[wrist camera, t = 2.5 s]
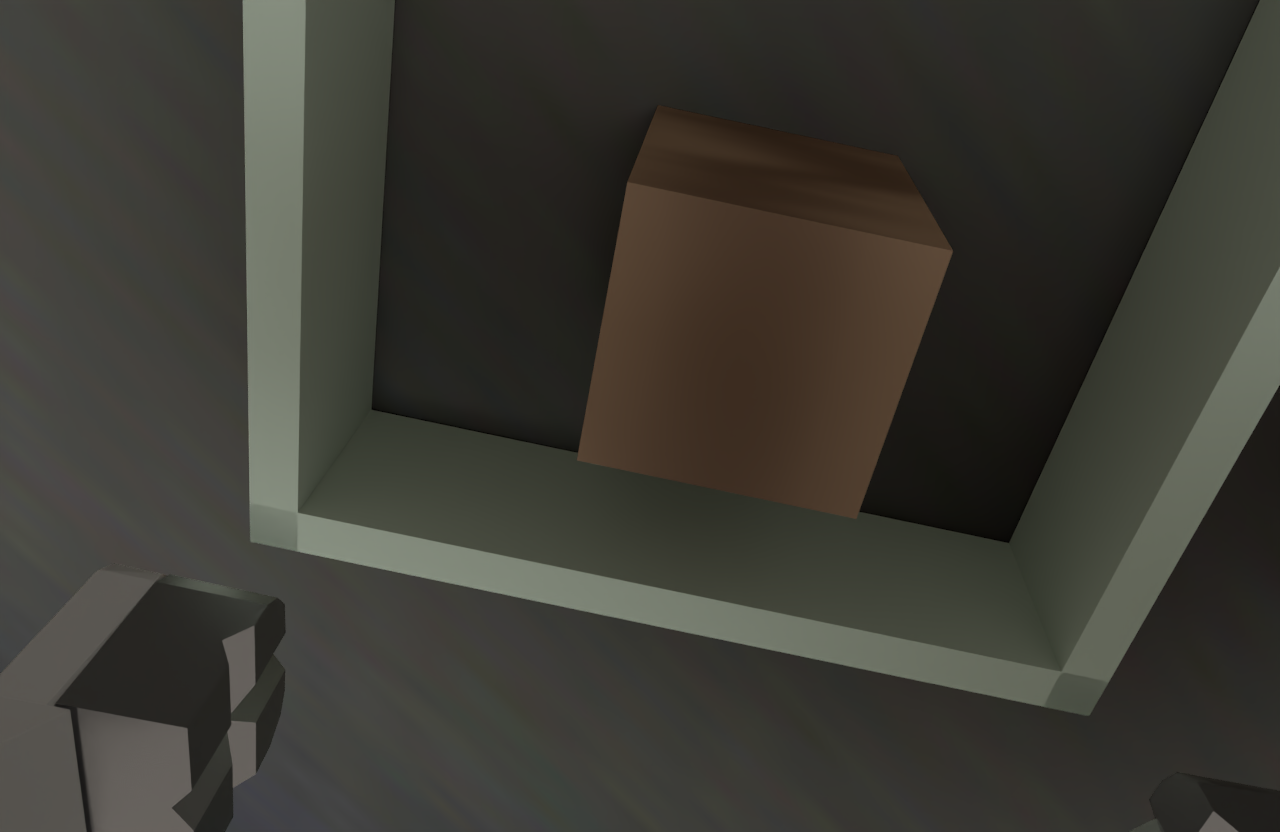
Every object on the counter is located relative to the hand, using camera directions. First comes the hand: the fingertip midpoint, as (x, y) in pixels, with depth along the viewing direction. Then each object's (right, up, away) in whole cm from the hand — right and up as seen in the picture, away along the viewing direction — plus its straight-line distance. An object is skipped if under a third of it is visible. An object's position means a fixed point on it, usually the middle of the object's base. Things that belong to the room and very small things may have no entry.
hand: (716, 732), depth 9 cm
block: (+2, +7, +12) cm, 14 cm away
